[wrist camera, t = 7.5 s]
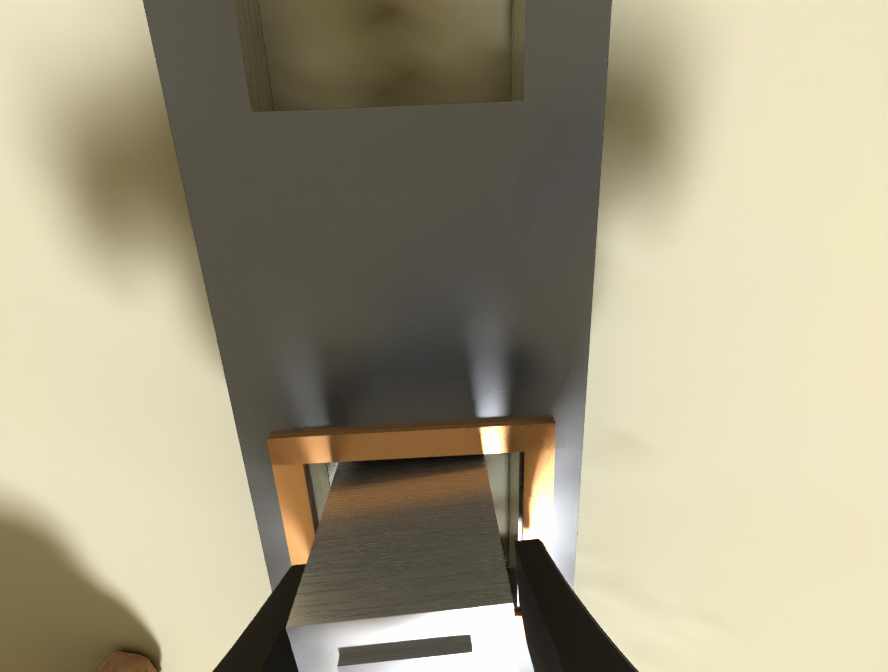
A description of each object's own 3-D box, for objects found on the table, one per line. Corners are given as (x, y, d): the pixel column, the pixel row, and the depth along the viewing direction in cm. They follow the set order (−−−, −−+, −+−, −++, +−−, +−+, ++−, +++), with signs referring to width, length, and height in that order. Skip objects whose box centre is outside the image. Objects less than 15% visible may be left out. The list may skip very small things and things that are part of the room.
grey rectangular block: (477, 426, 14) (515, 613, 8) (487, 532, 15) (526, 762, 9) (345, 441, 14) (282, 638, 8) (366, 545, 15) (326, 783, 9)
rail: (620, -635, 7) (674, -867, 6) (553, 673, 17) (566, 724, 15) (55, -625, 7) (-54, -858, 6) (314, 688, 17) (301, 741, 15)
